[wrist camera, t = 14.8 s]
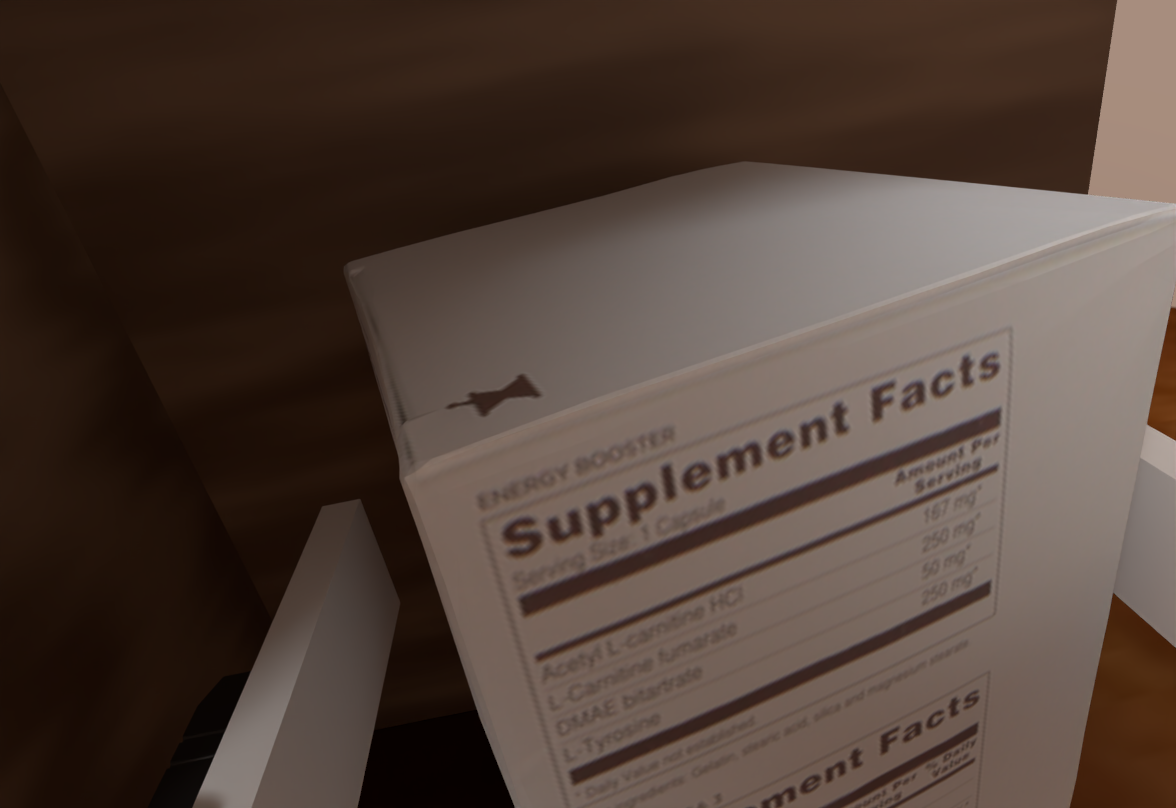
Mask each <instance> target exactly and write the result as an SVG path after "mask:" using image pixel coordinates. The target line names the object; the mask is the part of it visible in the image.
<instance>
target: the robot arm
mask: <svg viewBox="0 0 1176 808" xmlns="http://www.w3.org/2000/svg"><path fill="white" fill-rule="evenodd" d="M1113 593H1114V594H1115V595H1116V596H1118V597H1119V598H1120V599H1121V600H1122V601H1123V602H1124V603H1125V604H1127V605H1128V606H1129V607H1130V608H1131V609H1132V610H1133V611H1135V612H1136V613H1137V614H1138V615H1139V616H1140V617H1141V618H1142V619H1144V620H1145V621H1146V622H1147V623H1148V624H1149V625H1150V626H1152V627H1153V628H1154V629H1155V630H1156V631H1157V632H1158V633H1159V634H1161V635H1162V636H1163V637H1164V638H1165V639H1166V640H1167V641H1169V642H1170V643H1171V644H1172V645H1173V646H1174V647H1175V648H1176V441H1175V440H1173V439H1171V438H1169V437H1168V436H1166V435H1164V434H1162V433H1161V432H1159V431H1157V430H1155V429H1154V428H1152V427H1150V426H1148V425H1146V430H1145V435H1144V440H1143V445H1142V450H1141V455H1140V460H1139V465H1138V470H1137V475H1136V480H1135V485H1134V490H1133V495H1132V500H1131V505H1130V510H1129V515H1128V520H1127V525H1126V530H1125V535H1124V540H1123V545H1122V550H1121V554H1120V559H1119V564H1118V569H1117V574H1116V579H1115V585H1114V590H1113ZM399 607H400V600H399V598H398V595H397V593H396V590H395V587H394V585H393V582H392V580H391V577H390V574H389V572H388V569H387V567H386V564H385V562H384V559H383V556H382V554H381V551H380V549H379V546H378V544H377V541H376V538H375V536H374V533H373V531H372V528H371V525H370V523H369V520H368V518H367V515H366V513H365V510H364V507H363V505H362V502H361V500H360V499H357V500H352V501H347V502H342V503H337V504H332V505H327V506H322V508H321V511H320V513H319V515H318V518H317V520H316V522H315V525H314V527H313V529H312V531H311V534H310V536H309V538H308V541H307V543H306V545H305V548H304V550H303V552H302V555H301V557H300V559H299V562H298V564H297V566H296V569H295V571H294V573H293V576H292V578H291V580H290V582H289V585H288V587H287V589H286V592H285V594H284V596H283V599H282V601H281V603H280V606H279V608H278V610H277V613H276V615H275V617H274V620H273V622H272V624H271V627H270V629H269V631H268V633H267V636H266V638H265V640H264V643H263V645H262V647H261V650H260V652H259V654H258V657H257V659H256V661H255V664H254V666H253V668H252V671H249V672H244V673H239V674H234V675H229V676H224V677H223V678H222V679H221V680H220V681H219V682H218V683H217V684H216V685H215V687H214V688H213V689H212V690H211V691H210V692H209V693H208V695H207V696H206V697H205V698H204V699H203V700H202V701H201V702H200V704H199V705H198V706H197V708H196V710H195V712H194V714H193V716H192V718H191V720H190V722H189V724H188V726H187V728H186V730H185V732H184V734H183V736H182V737H183V742H180V743H179V745H178V747H177V749H176V751H175V753H174V755H173V757H172V759H171V761H170V768H168V769H166V771H165V773H164V775H163V777H162V779H161V781H160V783H159V785H158V787H157V789H156V791H155V793H154V795H153V797H152V799H151V801H150V804H149V806H148V808H357V807H358V802H359V798H360V793H361V788H362V783H363V779H364V774H365V769H366V764H367V759H368V755H369V750H370V745H371V740H372V736H373V731H374V726H375V721H376V717H377V712H378V707H379V702H380V698H381V693H382V688H383V683H384V678H385V674H386V669H387V664H388V659H389V655H390V650H391V645H392V640H393V636H394V631H395V626H396V621H397V616H398V612H399Z"/></svg>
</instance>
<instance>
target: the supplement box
mask: <svg viewBox="0 0 1176 808" xmlns="http://www.w3.org/2000/svg"><path fill="white" fill-rule="evenodd" d="M344 276H345V279H346V282H347V285H348V288H349V291H350V294H351V297H352V300H353V303H354V306H355V309H356V313H357V316H358V319H359V322H360V326H361V329H362V332H363V335H364V339H365V342H366V346H367V349H368V353H369V356H370V360H371V363H372V367H373V370H374V374H375V377H376V380H377V384H378V387H379V391H380V394H381V398H382V401H383V404H384V408H385V412H386V415H387V419H388V422H389V426H390V430H391V433H392V437H393V440H394V443H395V447H396V450H397V454H398V457H399V467H400V472H399V479H400V481H401V484H402V487H403V490H404V493H405V496H406V498H407V501H408V504H409V507H410V510H411V512H412V515H413V518H414V521H415V524H416V526H417V529H418V532H419V535H420V538H421V541H422V544H423V547H424V550H425V553H426V556H427V559H428V562H429V565H430V568H431V571H432V574H433V577H434V580H435V583H436V586H437V589H438V592H439V595H440V599H441V602H442V605H443V608H444V611H445V614H446V617H447V620H448V623H449V626H450V629H451V632H452V635H453V638H454V641H455V644H456V647H457V650H458V653H459V656H460V660H461V663H462V666H463V669H464V672H465V675H466V678H467V681H468V684H469V687H470V690H471V693H472V696H473V699H474V702H475V705H476V708H477V711H478V714H479V717H480V720H481V723H482V725H483V728H484V730H485V733H486V735H487V738H488V740H489V743H490V746H491V748H492V751H493V753H494V756H495V758H496V761H497V763H498V766H499V768H500V771H501V773H502V776H503V779H504V781H505V784H506V786H507V789H508V791H509V794H510V796H511V799H512V801H513V804H514V807H515V808H1070V804H1071V800H1072V795H1073V791H1074V787H1075V782H1076V778H1077V772H1078V766H1079V761H1080V755H1081V750H1082V744H1083V738H1084V733H1085V728H1086V723H1087V718H1088V713H1089V708H1090V703H1091V698H1092V693H1093V688H1094V683H1095V678H1096V673H1097V668H1098V663H1099V658H1100V654H1101V649H1102V645H1103V640H1104V635H1105V631H1106V626H1107V621H1108V617H1109V612H1110V606H1111V601H1112V595H1113V590H1114V585H1115V579H1116V574H1117V569H1118V564H1119V559H1120V554H1121V550H1122V545H1123V540H1124V535H1125V530H1126V525H1127V520H1128V515H1129V510H1130V505H1131V500H1132V495H1133V490H1134V485H1135V480H1136V475H1137V470H1138V465H1139V460H1140V455H1141V450H1142V445H1143V440H1144V435H1145V430H1146V425H1147V420H1148V415H1149V410H1150V405H1151V400H1152V395H1153V390H1154V385H1155V380H1156V376H1157V371H1158V366H1159V361H1160V356H1161V352H1162V347H1163V342H1164V337H1165V332H1166V327H1167V323H1168V318H1169V313H1170V308H1171V303H1172V298H1173V294H1174V289H1175V284H1176V204H1173V203H1164V202H1154V201H1145V200H1135V199H1124V198H1115V197H1104V196H1095V195H1085V194H1075V193H1065V192H1055V191H1046V190H1036V189H1026V188H1016V187H1006V186H996V185H986V184H976V183H966V182H956V181H946V180H936V179H926V178H916V177H905V176H895V175H885V174H875V173H864V172H854V171H844V170H834V169H823V168H813V167H803V166H792V165H781V164H771V163H759V162H747V161H743V162H738V163H732V164H726V165H721V166H716V167H711V168H706V169H701V170H697V171H693V172H689V173H685V174H680V175H676V176H672V177H668V178H665V179H661V180H658V181H654V182H650V183H647V184H643V185H640V186H636V187H633V188H629V189H626V190H622V191H618V192H615V193H611V194H608V195H604V196H600V197H596V198H592V199H589V200H585V201H581V202H577V203H573V204H569V205H565V206H561V207H557V208H553V209H549V210H545V211H541V212H537V213H533V214H529V215H525V216H521V217H517V218H513V219H509V220H505V221H501V222H497V223H493V224H489V225H485V226H481V227H477V228H473V229H469V230H465V231H461V232H457V233H453V234H449V235H445V236H442V237H438V238H434V239H430V240H427V241H423V242H419V243H415V244H412V245H408V246H404V247H401V248H397V249H393V250H390V251H386V252H383V253H379V254H375V255H372V256H368V257H365V258H361V259H358V260H354V261H351V262H349V263H348V264H346V265H345V266H344Z"/></svg>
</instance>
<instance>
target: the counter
mask: <svg viewBox="0 0 1176 808" xmlns="http://www.w3.org/2000/svg"><path fill="white" fill-rule="evenodd" d="M1116 4H1117V0H0V808H148V806H149V804H150V801H151V799H152V797H153V795H154V793H155V791H156V789H157V787H158V785H159V783H160V781H161V779H162V777H163V775H164V773H165V771H166V769H168V768H170V761H171V759H172V757H173V755H174V753H175V751H176V749H177V747H178V745H179V743H180V742H183V737H182V736H183V734H184V732H185V730H186V728H187V726H188V724H189V722H190V720H191V718H192V716H193V714H194V712H195V710H196V708H197V706H198V705H199V704H200V702H201V701H202V700H203V699H204V698H205V697H206V696H207V695H208V693H209V692H210V691H211V690H212V689H213V688H214V687H215V685H216V684H217V683H218V682H219V681H220V680H221V679H222V678H223V677H224V676H229V675H234V674H239V673H244V672H249V671H252V668H253V666H254V664H255V661H256V659H257V657H258V654H259V652H260V650H261V647H262V645H263V643H264V640H265V638H266V636H267V633H268V631H269V629H270V627H271V624H272V622H273V620H274V617H275V615H276V613H277V610H278V608H279V606H280V603H281V601H282V599H283V596H284V594H285V592H286V589H287V587H288V585H289V582H290V580H291V578H292V576H293V573H294V571H295V569H296V566H297V564H298V562H299V559H300V557H301V555H302V552H303V550H304V548H305V545H306V543H307V541H308V538H309V536H310V534H311V531H312V529H313V527H314V525H315V522H316V520H317V518H318V515H319V513H320V511H321V508H322V506H327V505H332V504H337V503H342V502H347V501H352V500H357V499H360V500H361V502H362V505H363V507H364V510H365V513H366V515H367V518H368V520H369V523H370V525H371V528H372V531H373V533H374V536H375V538H376V541H377V544H378V546H379V549H380V551H381V554H382V556H383V559H384V562H385V564H386V567H387V569H388V572H389V574H390V577H391V580H392V582H393V585H394V587H395V590H396V593H397V595H398V598H399V600H400V607H399V612H398V616H397V621H396V626H395V631H394V636H393V640H392V645H391V650H390V655H389V659H388V664H387V669H386V674H385V678H384V683H383V688H382V693H381V698H380V702H379V707H378V712H377V717H376V721H375V726H374V730H377V729H382V728H387V727H392V726H397V725H402V724H407V723H412V722H417V721H422V720H427V719H432V718H437V717H442V716H447V715H452V714H457V713H462V712H467V711H472V710H477V708H476V705H475V702H474V699H473V696H472V693H471V690H470V687H469V684H468V681H467V678H466V675H465V672H464V669H463V666H462V663H461V660H460V656H459V653H458V650H457V647H456V644H455V641H454V638H453V635H452V632H451V629H450V626H449V623H448V620H447V617H446V614H445V611H444V608H443V605H442V602H441V599H440V595H439V592H438V589H437V586H436V583H435V580H434V577H433V574H432V571H431V568H430V565H429V562H428V559H427V556H426V553H425V550H424V547H423V544H422V541H421V538H420V535H419V532H418V529H417V526H416V524H415V521H414V518H413V515H412V512H411V510H410V507H409V504H408V501H407V498H406V496H405V493H404V490H403V487H402V484H401V481H400V479H399V472H400V467H399V457H398V454H397V450H396V447H395V443H394V440H393V437H392V433H391V430H390V426H389V422H388V419H387V415H386V412H385V408H384V404H383V401H382V398H381V394H380V391H379V387H378V384H377V380H376V377H375V374H374V370H373V367H372V363H371V360H370V356H369V353H368V349H367V346H366V342H365V339H364V335H363V332H362V329H361V326H360V322H359V319H358V316H357V313H356V309H355V306H354V303H353V300H352V297H351V294H350V291H349V288H348V285H347V282H346V279H345V276H344V266H345V265H346V264H348V263H349V262H351V261H354V260H358V259H361V258H365V257H368V256H372V255H375V254H379V253H383V252H386V251H390V250H393V249H397V248H401V247H404V246H408V245H412V244H415V243H419V242H423V241H427V240H430V239H434V238H438V237H442V236H445V235H449V234H453V233H457V232H461V231H465V230H469V229H473V228H477V227H481V226H485V225H489V224H493V223H497V222H501V221H505V220H509V219H513V218H517V217H521V216H525V215H529V214H533V213H537V212H541V211H545V210H549V209H553V208H557V207H561V206H565V205H569V204H573V203H577V202H581V201H585V200H589V199H592V198H596V197H600V196H604V195H608V194H611V193H615V192H618V191H622V190H626V189H629V188H633V187H636V186H640V185H643V184H647V183H650V182H654V181H658V180H661V179H665V178H668V177H672V176H676V175H680V174H685V173H689V172H693V171H697V170H701V169H706V168H711V167H716V166H721V165H726V164H732V163H738V162H743V161H747V162H759V163H771V164H781V165H792V166H803V167H813V168H823V169H834V170H844V171H854V172H864V173H875V174H885V175H895V176H905V177H916V178H926V179H936V180H946V181H956V182H966V183H976V184H986V185H996V186H1006V187H1016V188H1026V189H1036V190H1046V191H1055V192H1065V193H1075V194H1085V195H1088V190H1089V183H1090V177H1091V170H1092V163H1093V156H1094V150H1095V143H1096V137H1097V130H1098V123H1099V117H1100V109H1101V103H1102V97H1103V90H1104V84H1105V77H1106V70H1107V64H1108V57H1109V50H1110V44H1111V37H1112V30H1113V24H1114V17H1115V10H1116Z"/></svg>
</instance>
